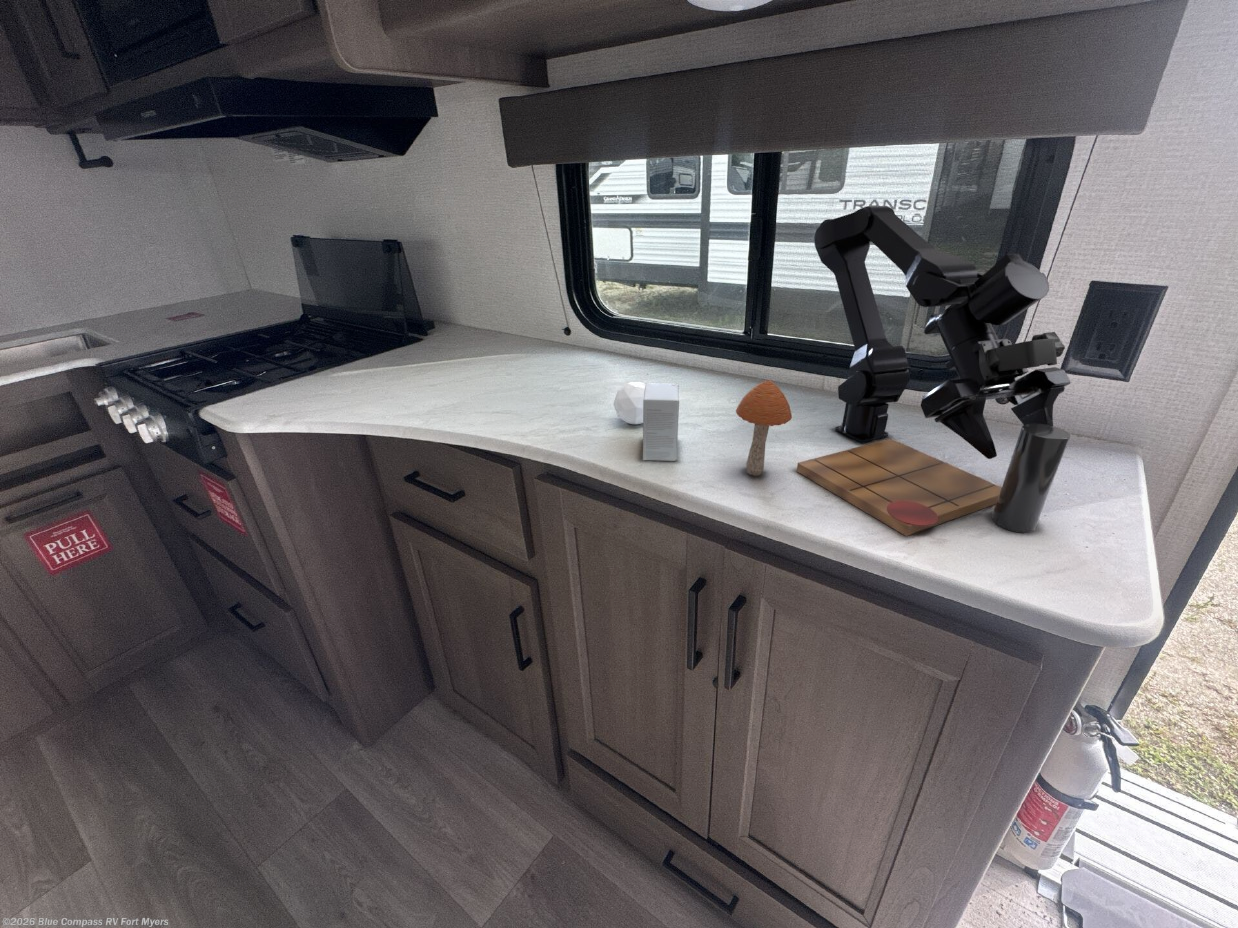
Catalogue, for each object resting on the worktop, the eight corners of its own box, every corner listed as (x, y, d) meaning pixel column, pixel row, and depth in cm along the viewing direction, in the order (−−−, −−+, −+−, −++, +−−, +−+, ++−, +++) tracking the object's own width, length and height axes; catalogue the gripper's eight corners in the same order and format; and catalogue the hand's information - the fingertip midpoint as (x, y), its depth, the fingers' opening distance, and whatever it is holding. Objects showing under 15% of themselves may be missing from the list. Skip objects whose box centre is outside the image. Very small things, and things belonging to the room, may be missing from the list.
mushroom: (785, 488, 82) (799, 390, 75) (730, 484, 83) (739, 387, 77) (781, 464, 89) (793, 372, 82) (730, 460, 90) (738, 370, 84)
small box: (644, 440, 98) (645, 382, 93) (676, 441, 97) (679, 382, 93) (641, 460, 91) (642, 399, 86) (676, 461, 90) (679, 399, 86)
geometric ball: (629, 431, 108) (627, 391, 110) (665, 424, 104) (663, 383, 105) (605, 424, 102) (604, 381, 103) (643, 416, 98) (641, 372, 99)
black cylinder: (983, 518, 74) (1013, 427, 69) (1006, 509, 76) (1037, 420, 70) (1020, 536, 71) (1055, 442, 65) (1043, 527, 72) (1079, 434, 67)
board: (796, 471, 87) (797, 461, 86) (888, 446, 95) (890, 437, 94) (912, 540, 70) (915, 529, 69) (1014, 503, 78) (1017, 493, 77)
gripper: (962, 315, 66) (1018, 438, 61) (1081, 304, 70) (1142, 417, 66) (899, 363, 76) (943, 471, 71) (1007, 351, 81) (1055, 451, 76)
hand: (1021, 452), depth 71 cm, fingers open, 9 cm apart
